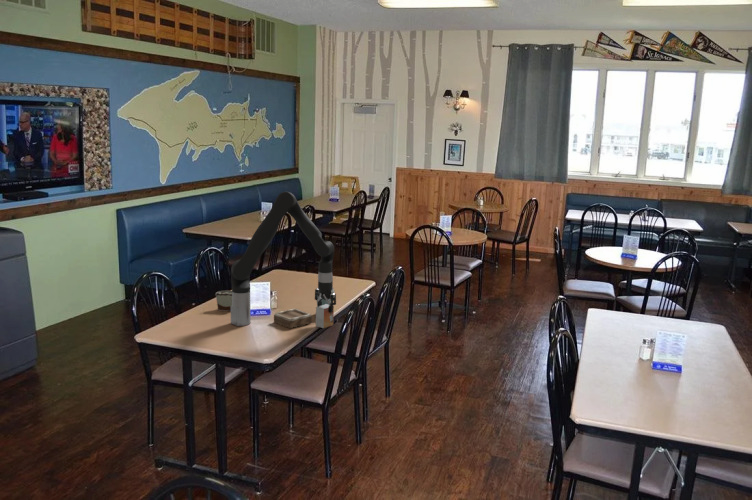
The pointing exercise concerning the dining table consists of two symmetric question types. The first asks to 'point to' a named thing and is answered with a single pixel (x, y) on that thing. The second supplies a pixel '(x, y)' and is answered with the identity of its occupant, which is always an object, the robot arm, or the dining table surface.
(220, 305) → the food container
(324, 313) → the small box
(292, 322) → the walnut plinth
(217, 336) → the dining table surface
